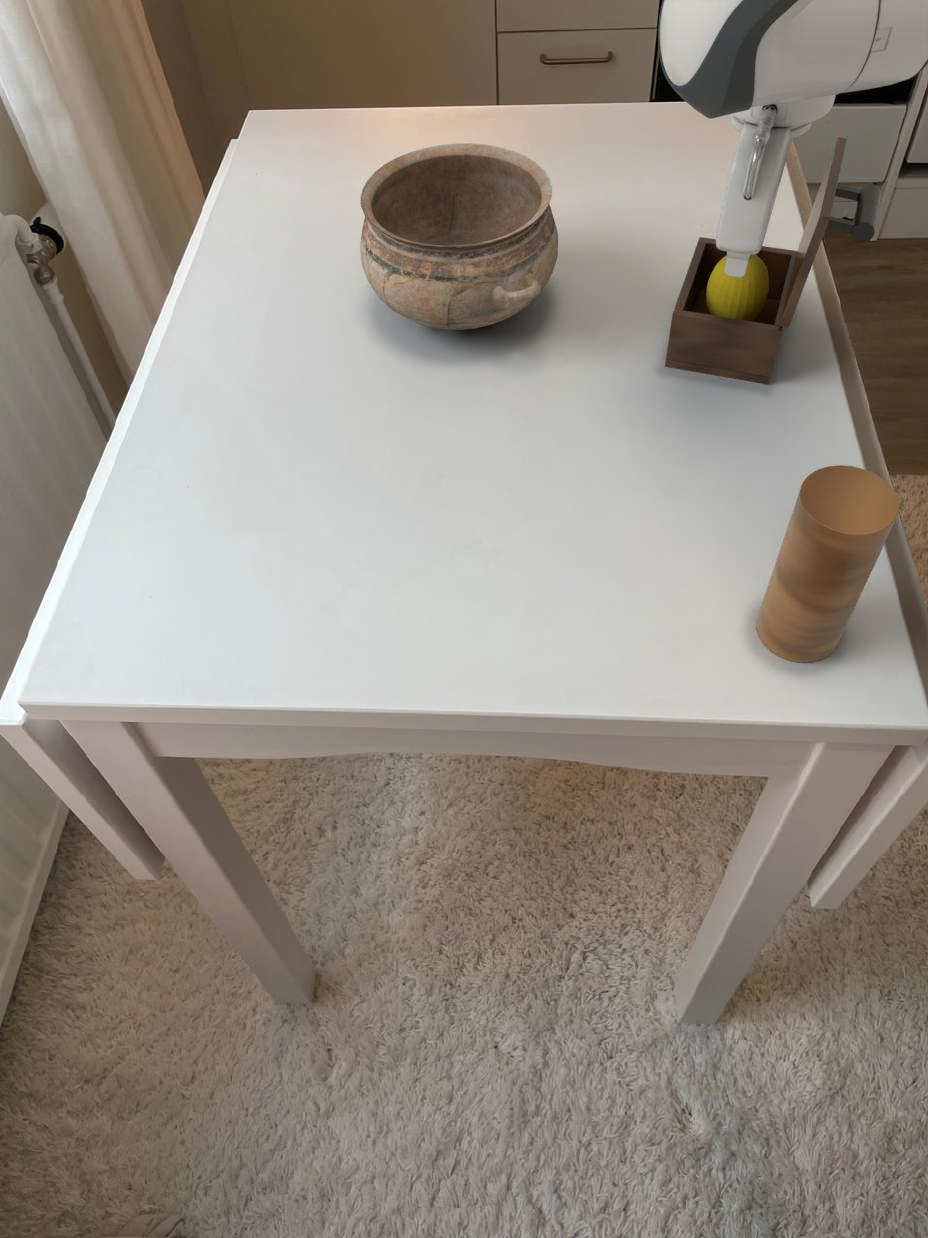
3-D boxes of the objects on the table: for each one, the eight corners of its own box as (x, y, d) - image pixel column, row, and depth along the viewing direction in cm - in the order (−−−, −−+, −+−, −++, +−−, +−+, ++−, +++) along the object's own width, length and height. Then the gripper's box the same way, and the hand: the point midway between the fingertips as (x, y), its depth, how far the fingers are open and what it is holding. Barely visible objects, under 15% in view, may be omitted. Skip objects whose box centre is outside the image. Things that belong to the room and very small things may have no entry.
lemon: (763, 315, 92) (781, 239, 86) (753, 350, 89) (771, 274, 83) (706, 305, 93) (719, 230, 87) (694, 339, 90) (708, 264, 84)
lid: (819, 215, 74) (882, 229, 73) (838, 136, 81) (895, 147, 80) (778, 326, 82) (834, 339, 82) (798, 245, 89) (850, 257, 89)
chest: (664, 366, 90) (672, 313, 85) (691, 288, 97) (699, 236, 92) (768, 384, 87) (782, 331, 83) (787, 303, 94) (801, 250, 90)
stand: (843, 608, 72) (903, 475, 61) (834, 671, 69) (895, 543, 57) (762, 590, 73) (806, 457, 62) (750, 651, 70) (793, 522, 59)
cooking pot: (325, 278, 101) (304, 166, 91) (478, 220, 106) (473, 108, 96) (444, 411, 87) (434, 295, 78) (612, 337, 92) (622, 220, 83)
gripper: (803, 149, 67) (762, 317, 78) (836, 24, 78) (796, 186, 89) (713, 138, 68) (685, 304, 79) (758, 17, 79) (728, 177, 90)
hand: (744, 241), depth 84 cm, fingers open, 8 cm apart
